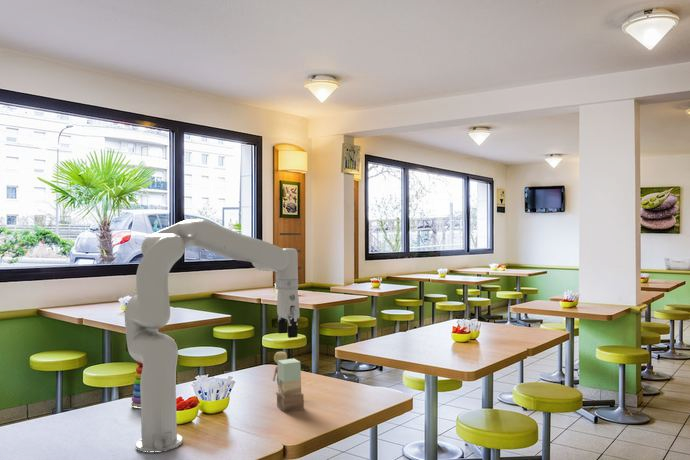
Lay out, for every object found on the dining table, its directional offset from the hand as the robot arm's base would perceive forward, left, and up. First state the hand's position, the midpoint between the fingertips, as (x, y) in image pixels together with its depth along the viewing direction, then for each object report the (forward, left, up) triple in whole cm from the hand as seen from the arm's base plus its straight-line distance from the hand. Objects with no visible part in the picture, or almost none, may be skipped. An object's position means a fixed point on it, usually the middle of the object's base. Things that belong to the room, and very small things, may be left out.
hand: (287, 335), depth 188 cm
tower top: (0, -1, -20) cm, 20 cm away
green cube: (0, 0, -15) cm, 15 cm away
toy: (+20, -4, -25) cm, 32 cm away
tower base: (0, 0, -25) cm, 25 cm away
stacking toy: (+28, +44, -25) cm, 58 cm away
